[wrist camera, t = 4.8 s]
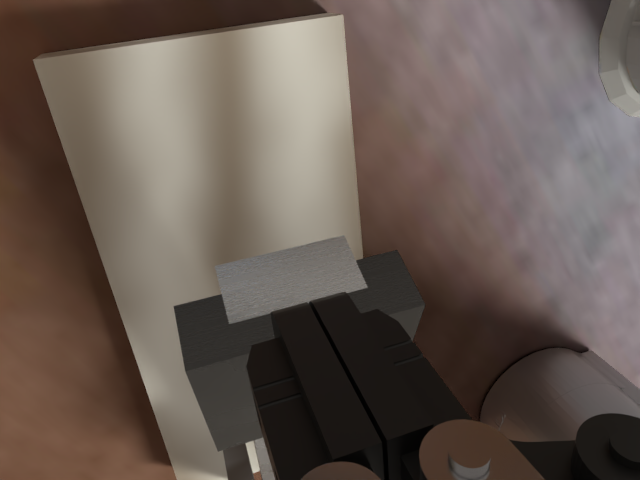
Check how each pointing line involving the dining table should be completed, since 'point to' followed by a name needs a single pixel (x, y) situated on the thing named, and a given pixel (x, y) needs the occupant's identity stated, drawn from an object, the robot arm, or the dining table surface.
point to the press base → (204, 180)
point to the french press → (621, 55)
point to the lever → (256, 325)
